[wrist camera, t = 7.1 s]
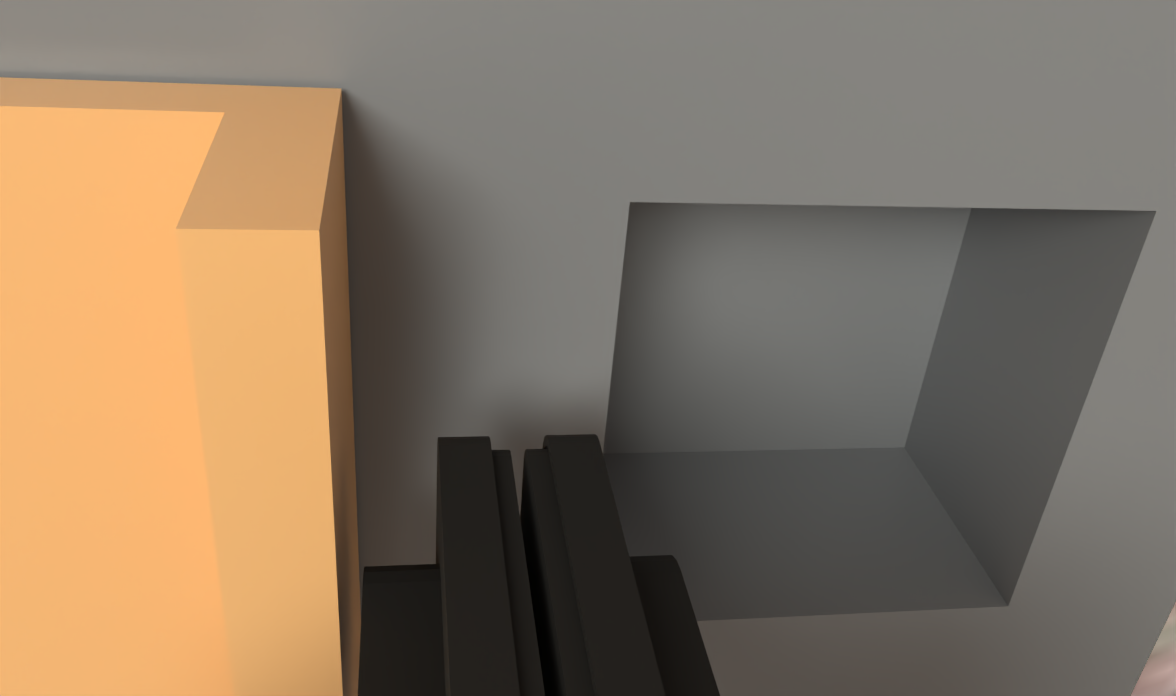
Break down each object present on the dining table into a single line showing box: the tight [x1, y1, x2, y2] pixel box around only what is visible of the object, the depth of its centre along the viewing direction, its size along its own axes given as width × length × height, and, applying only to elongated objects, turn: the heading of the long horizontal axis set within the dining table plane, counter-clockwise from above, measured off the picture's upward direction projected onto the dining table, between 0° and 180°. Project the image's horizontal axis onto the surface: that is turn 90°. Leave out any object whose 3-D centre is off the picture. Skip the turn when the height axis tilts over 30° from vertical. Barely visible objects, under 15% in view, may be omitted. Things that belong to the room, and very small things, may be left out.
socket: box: [0, 0, 1176, 696], centre depth 16 cm, size 18×14×5 cm
